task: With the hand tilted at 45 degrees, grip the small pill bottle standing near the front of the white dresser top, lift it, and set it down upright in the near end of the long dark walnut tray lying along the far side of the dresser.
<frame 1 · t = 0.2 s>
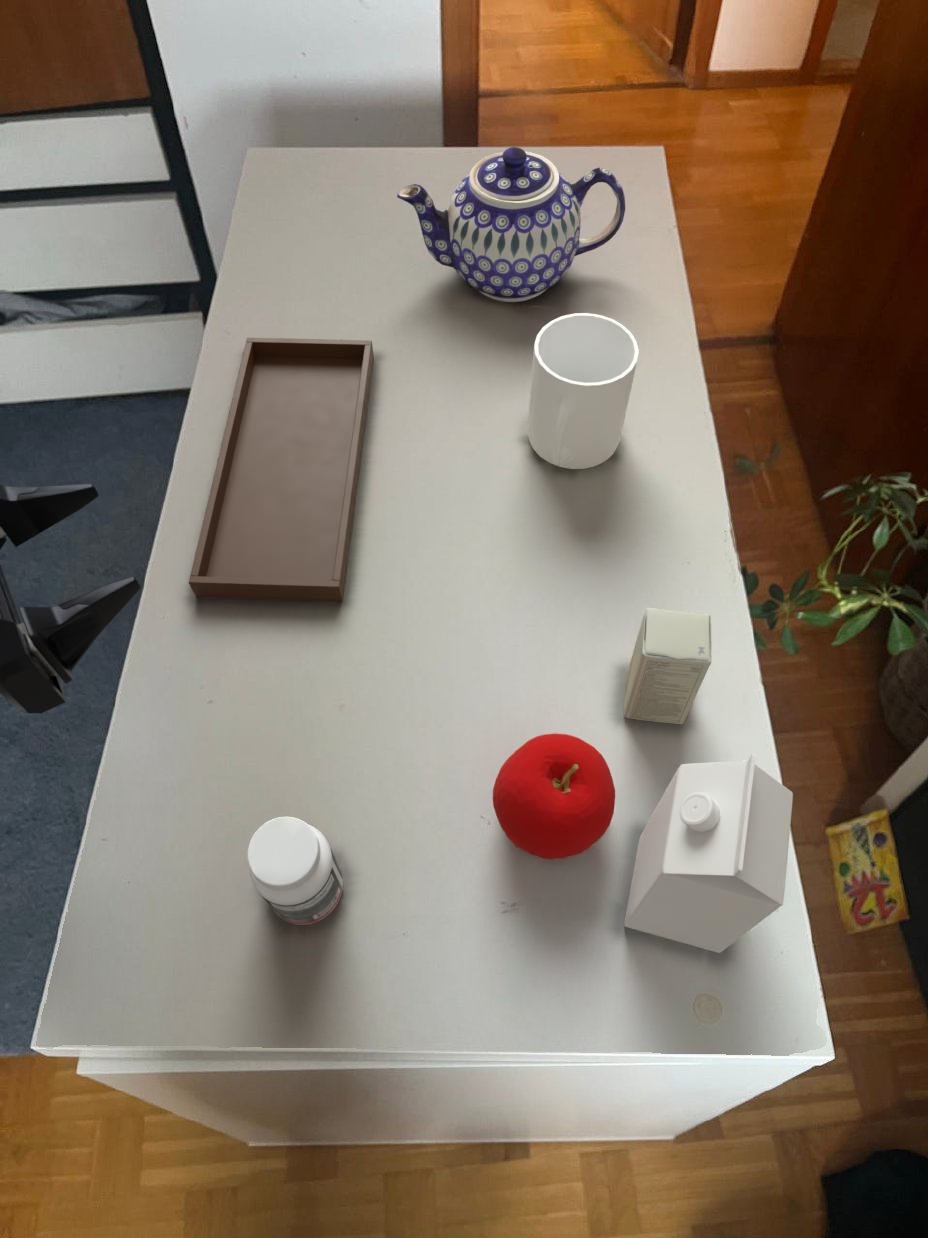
hand: (116, 534, 61), 18 cm above the table, tool horizontal, fingers open, 9 cm apart
fruit: (549, 815, 69), on the table
pill bottle: (306, 888, 67), on the table
box: (652, 700, 75), on the table
tray: (292, 467, 88), on the table
milk carton: (677, 894, 66), on the table
teapot: (509, 275, 103), on the table
mug: (572, 448, 89), on the table
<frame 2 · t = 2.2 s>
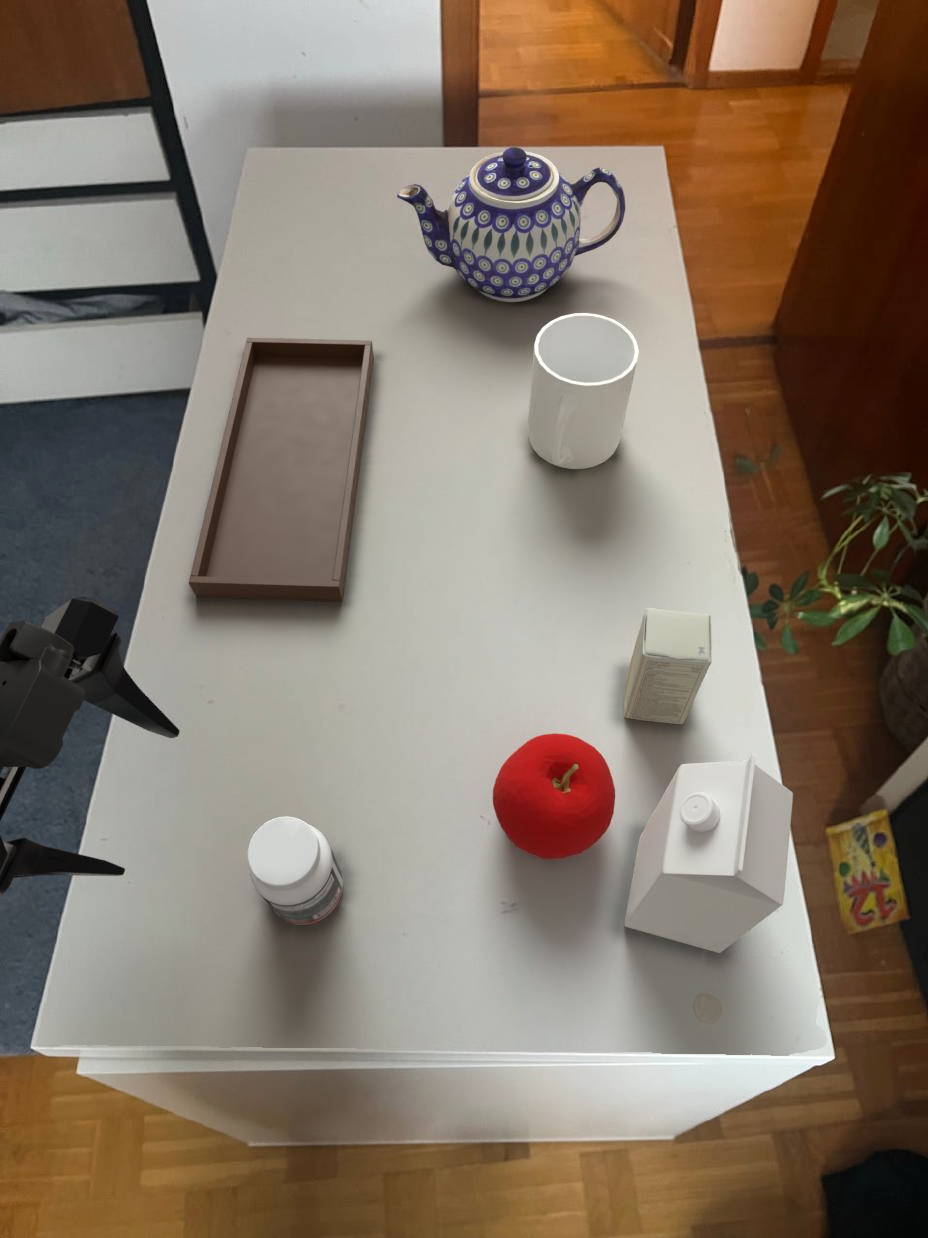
hand: (150, 801, 56), 14 cm above the table, tool tilted 45°, fingers open, 9 cm apart
nothing on the table moved.
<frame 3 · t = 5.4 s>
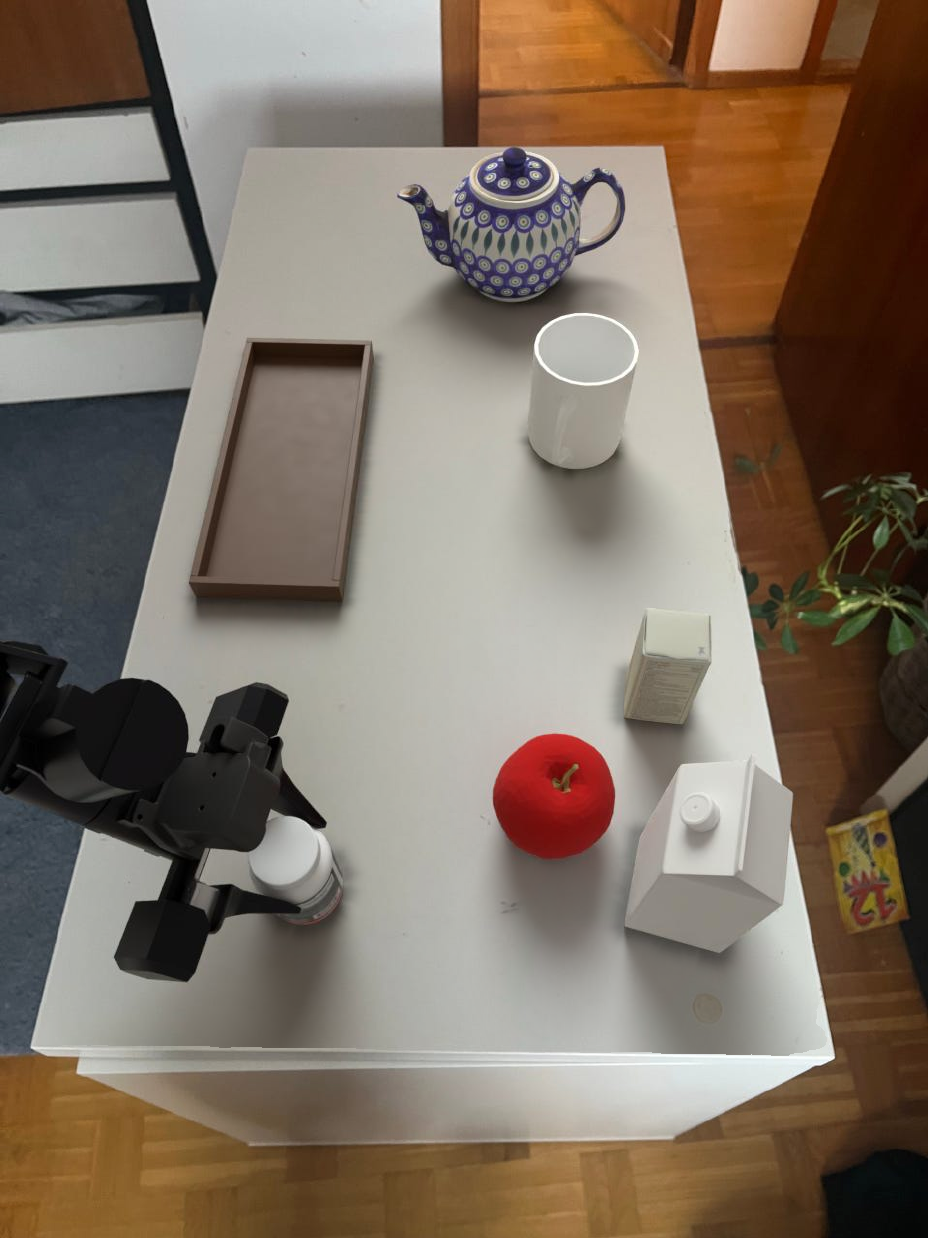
hand: (310, 868, 61), 7 cm above the table, tool tilted 45°, fingers closed on pill bottle, 6 cm apart
pill bottle: (306, 888, 67), on the table, touching gripper
everything else where it was.
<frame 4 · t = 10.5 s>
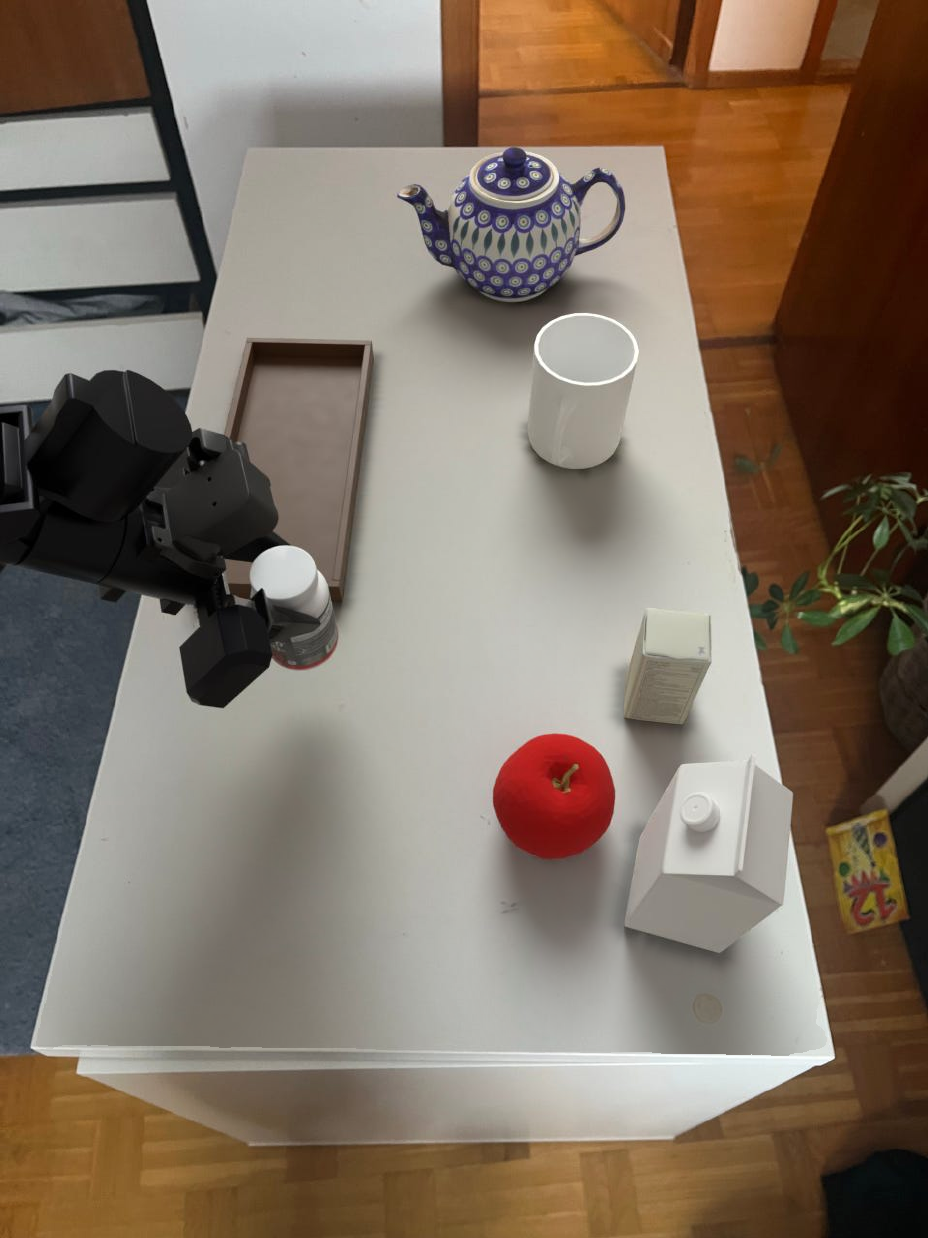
hand: (308, 592, 64), 13 cm above the table, tool tilted 45°, fingers closed on pill bottle, 6 cm apart
pill bottle: (303, 643, 70), point 6 cm above the table, touching gripper
everything else where it was.
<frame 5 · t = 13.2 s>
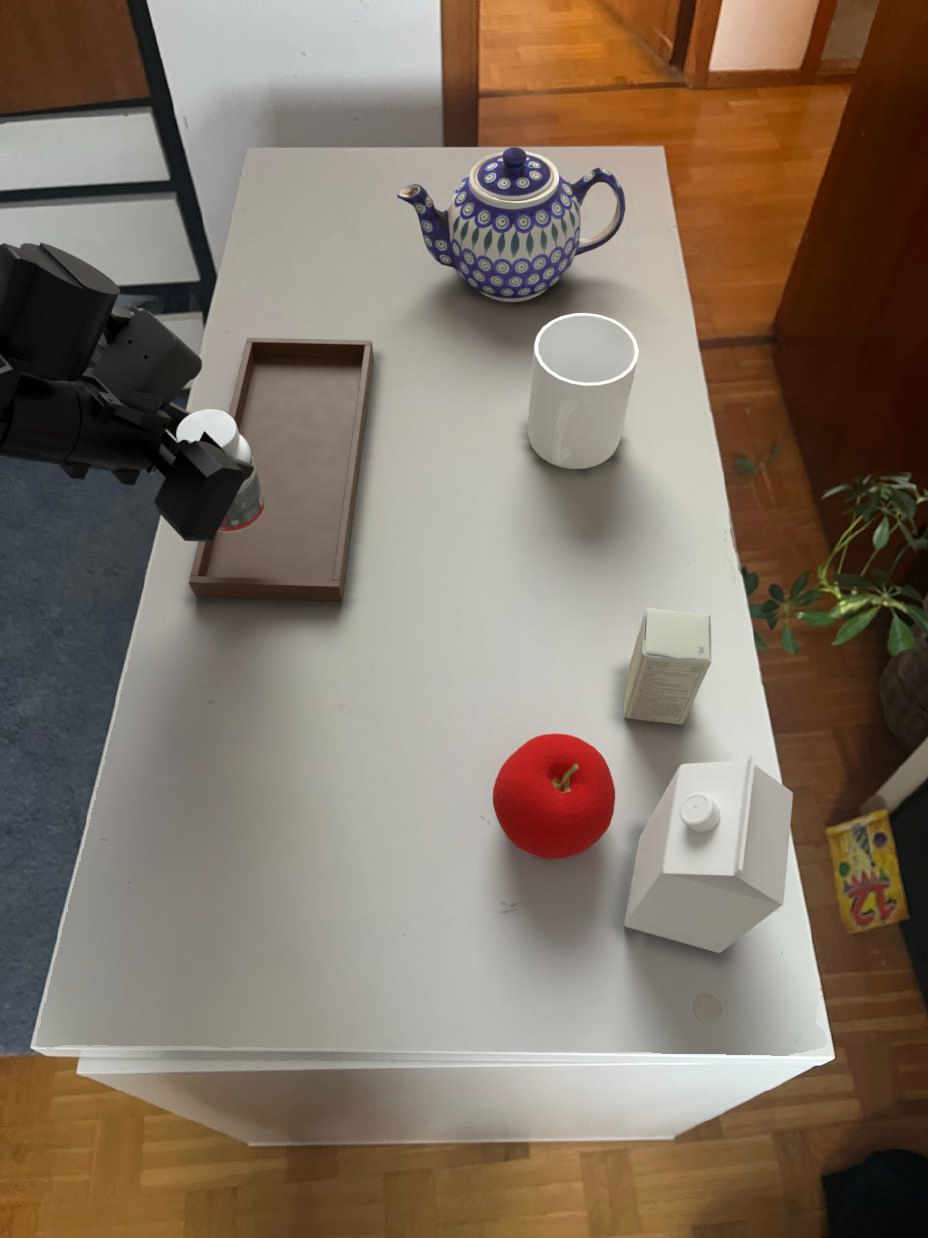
hand: (230, 450, 72), 13 cm above the table, tool tilted 45°, fingers closed on pill bottle, 6 cm apart
pill bottle: (234, 511, 77), point 6 cm above the table, touching gripper
everything else where it was.
when the fingers open (7 cm above the table, at t = 15.4 s): pill bottle stays where it is, resting on tray.
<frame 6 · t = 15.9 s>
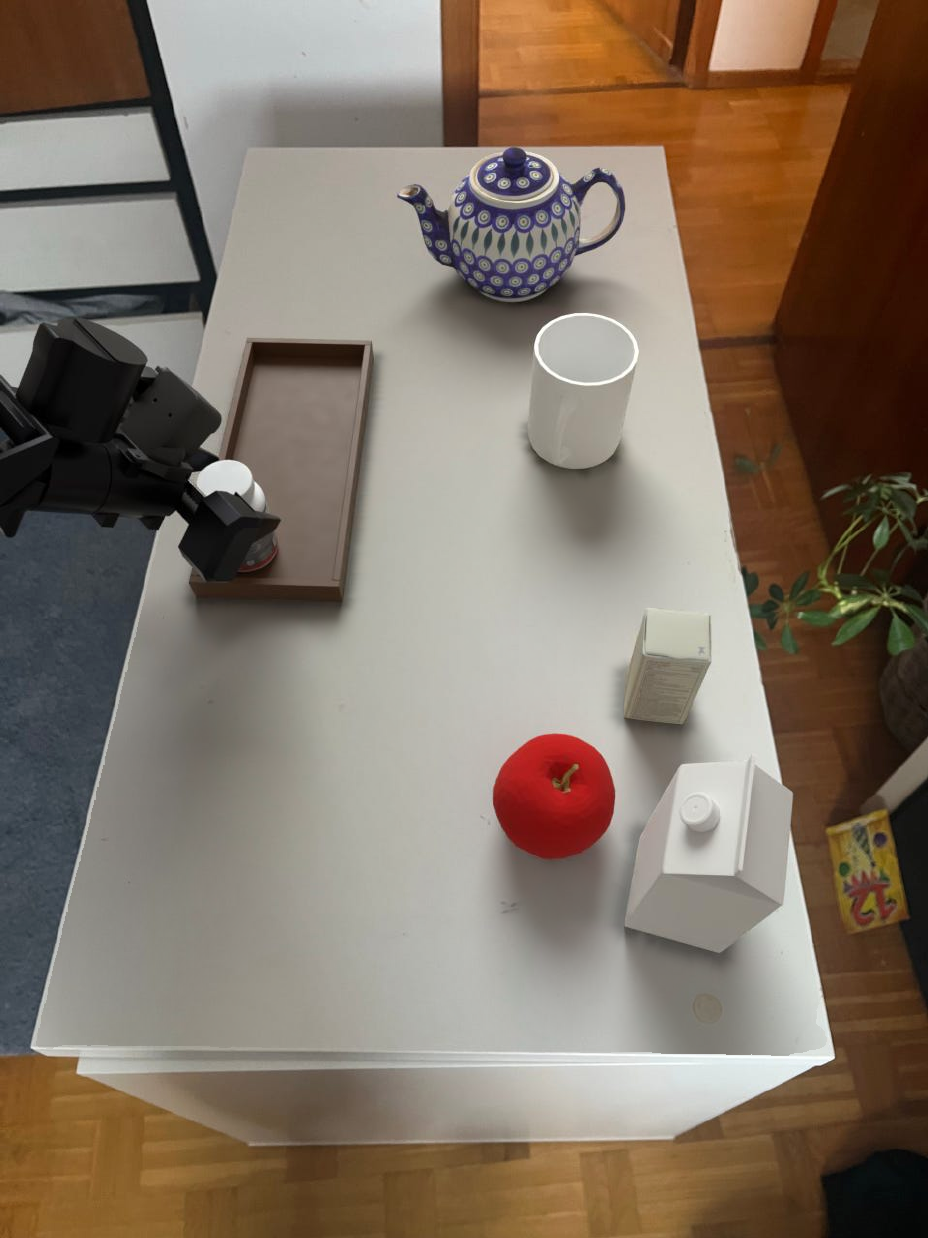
hand: (246, 492, 76), 8 cm above the table, tool tilted 45°, fingers open, 9 cm apart
pill bottle: (249, 550, 82), resting on tray
everything else where it was.
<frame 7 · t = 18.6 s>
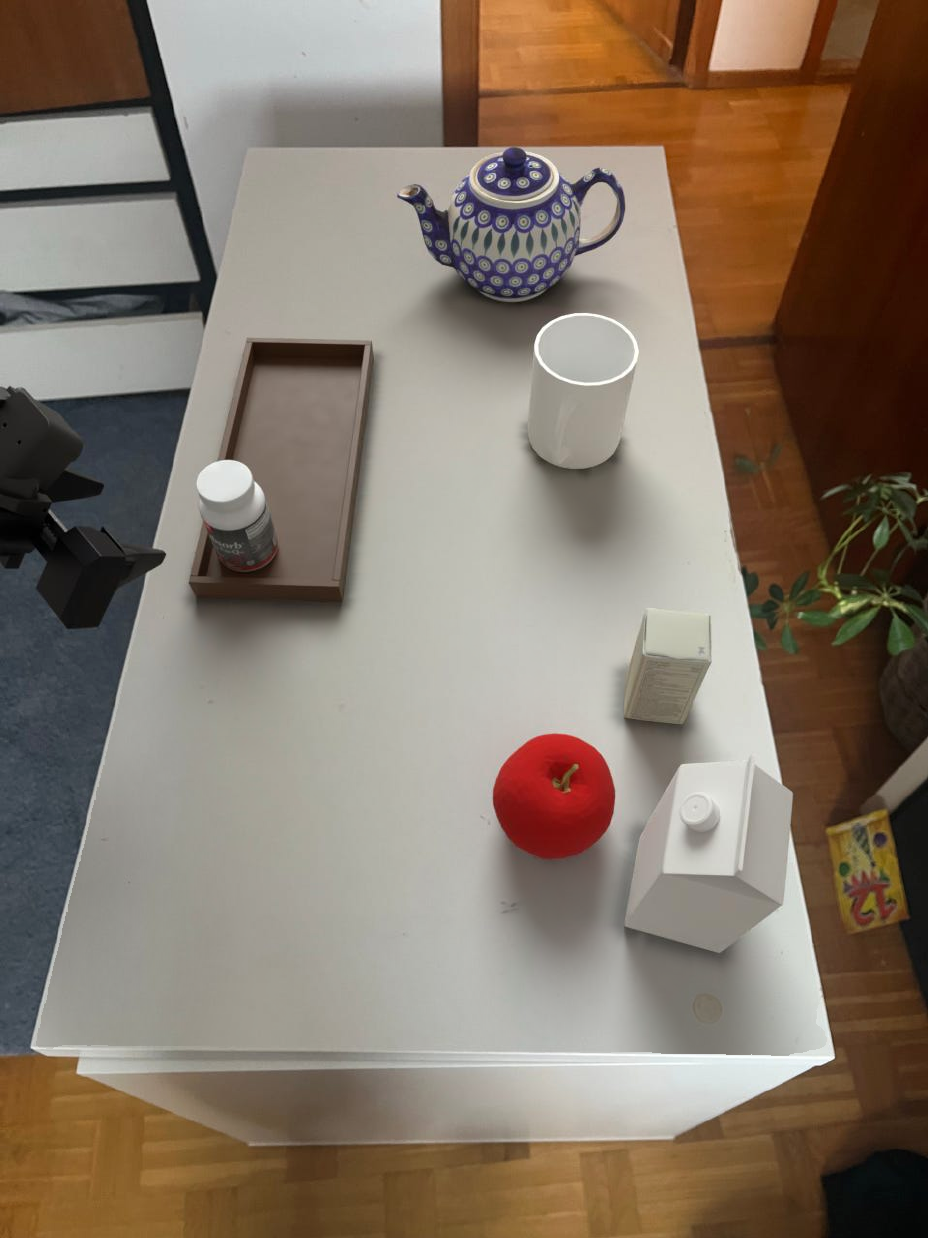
hand: (131, 522, 69), 12 cm above the table, tool tilted 45°, fingers open, 9 cm apart
nothing on the table moved.
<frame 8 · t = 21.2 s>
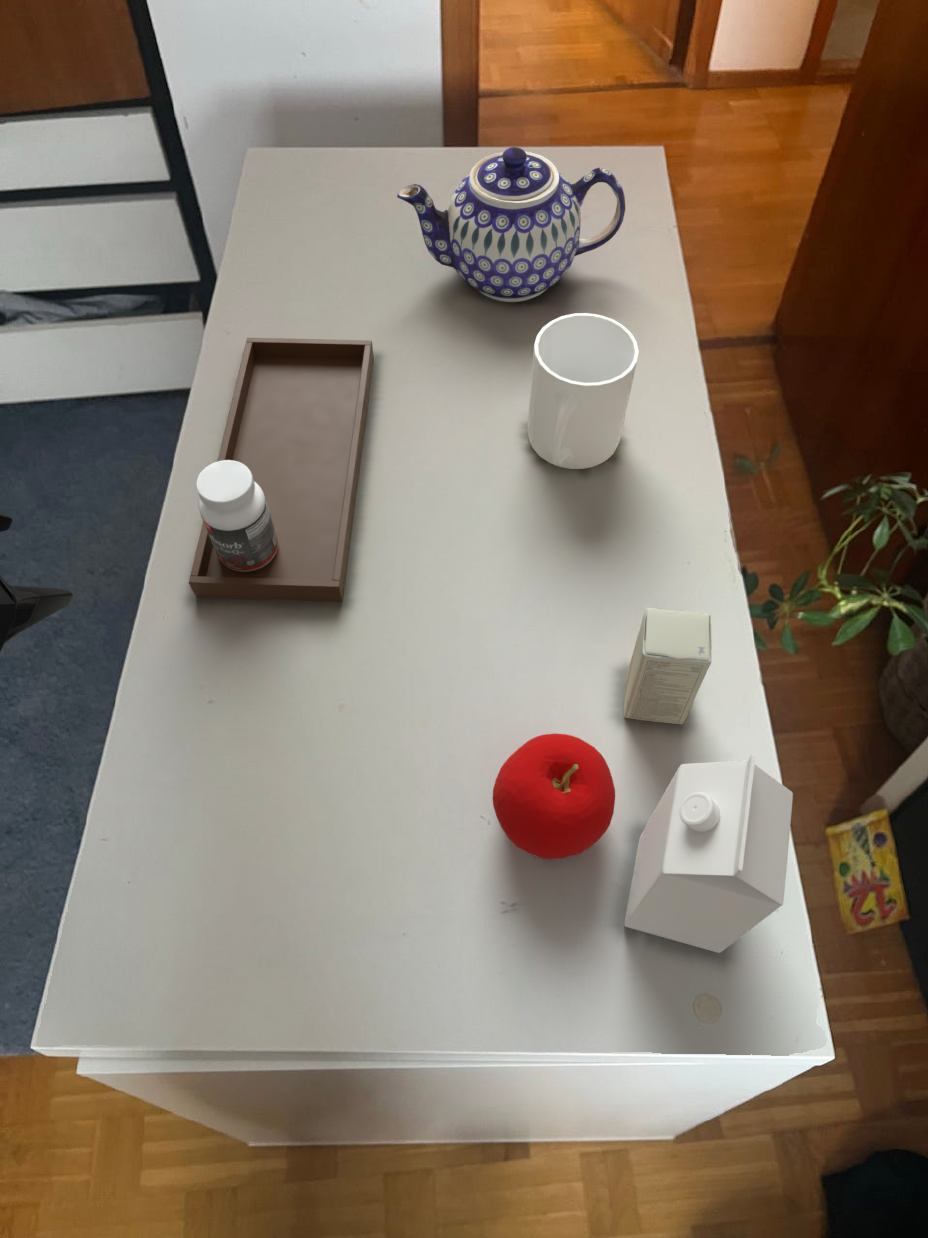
hand: (39, 559, 65), 14 cm above the table, tool tilted 45°, fingers open, 9 cm apart
nothing on the table moved.
at the end: pill bottle inside the target area in the tray (0.3 cm from its centre), point 0.3 cm above the tray's base; pill bottle tilted 0°; the gripper is holding nothing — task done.
